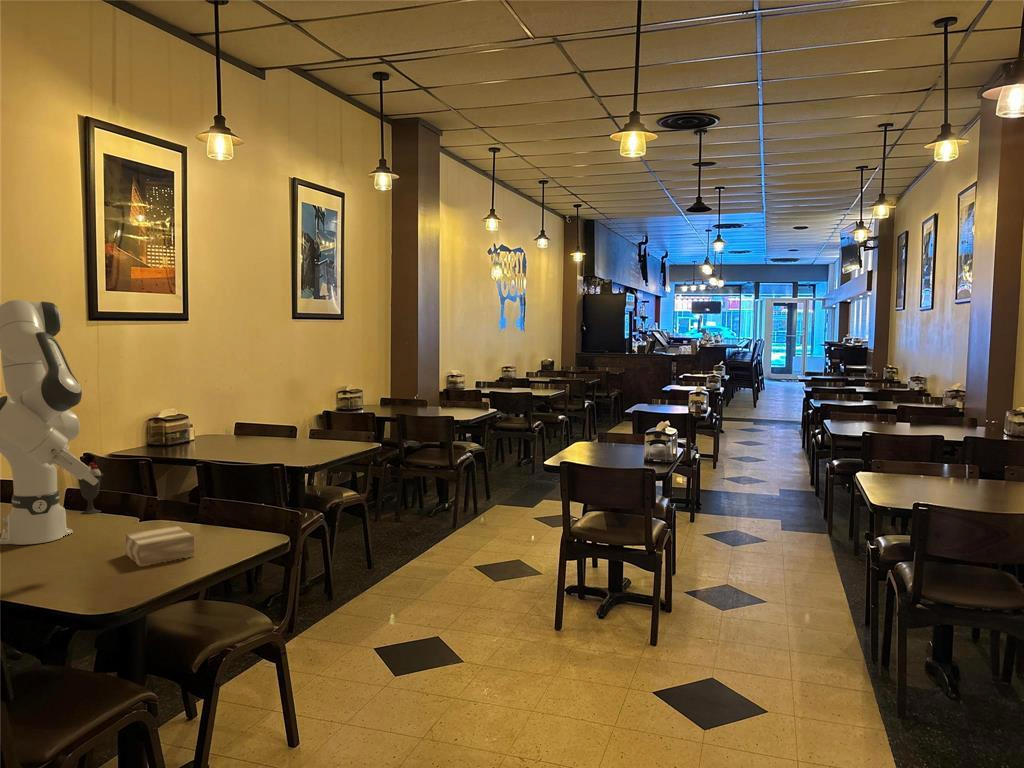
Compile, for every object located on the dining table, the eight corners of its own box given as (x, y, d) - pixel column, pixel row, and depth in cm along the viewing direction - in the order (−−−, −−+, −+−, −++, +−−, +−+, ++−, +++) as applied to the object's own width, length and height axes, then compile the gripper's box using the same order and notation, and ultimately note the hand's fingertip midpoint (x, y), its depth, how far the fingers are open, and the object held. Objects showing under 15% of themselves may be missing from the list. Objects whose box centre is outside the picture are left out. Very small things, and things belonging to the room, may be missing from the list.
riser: (126, 554, 205) (125, 534, 204) (177, 545, 214) (177, 525, 214) (140, 566, 194) (140, 545, 194) (194, 556, 204) (193, 536, 203)
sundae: (108, 512, 192) (106, 456, 192) (80, 516, 187) (78, 459, 187) (100, 509, 197) (98, 454, 196) (73, 513, 192) (70, 457, 192)
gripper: (67, 443, 179) (111, 477, 186) (50, 433, 194) (92, 465, 201) (46, 462, 176) (92, 496, 183) (31, 451, 191) (74, 483, 198)
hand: (92, 480), depth 192 cm, fingers closed on sundae, 6 cm apart
